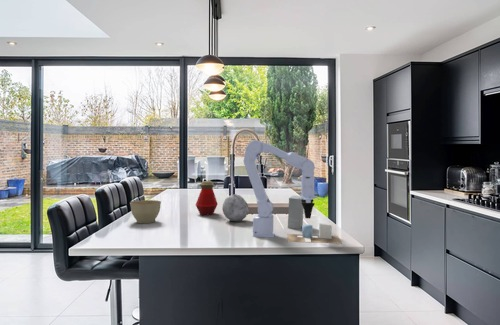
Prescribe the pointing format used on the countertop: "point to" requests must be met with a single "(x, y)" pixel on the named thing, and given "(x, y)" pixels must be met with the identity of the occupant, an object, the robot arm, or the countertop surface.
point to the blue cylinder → (307, 231)
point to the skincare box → (295, 212)
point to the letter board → (312, 239)
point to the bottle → (206, 199)
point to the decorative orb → (235, 208)
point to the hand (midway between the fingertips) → (307, 216)
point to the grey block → (325, 230)
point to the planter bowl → (145, 210)
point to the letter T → (308, 238)
